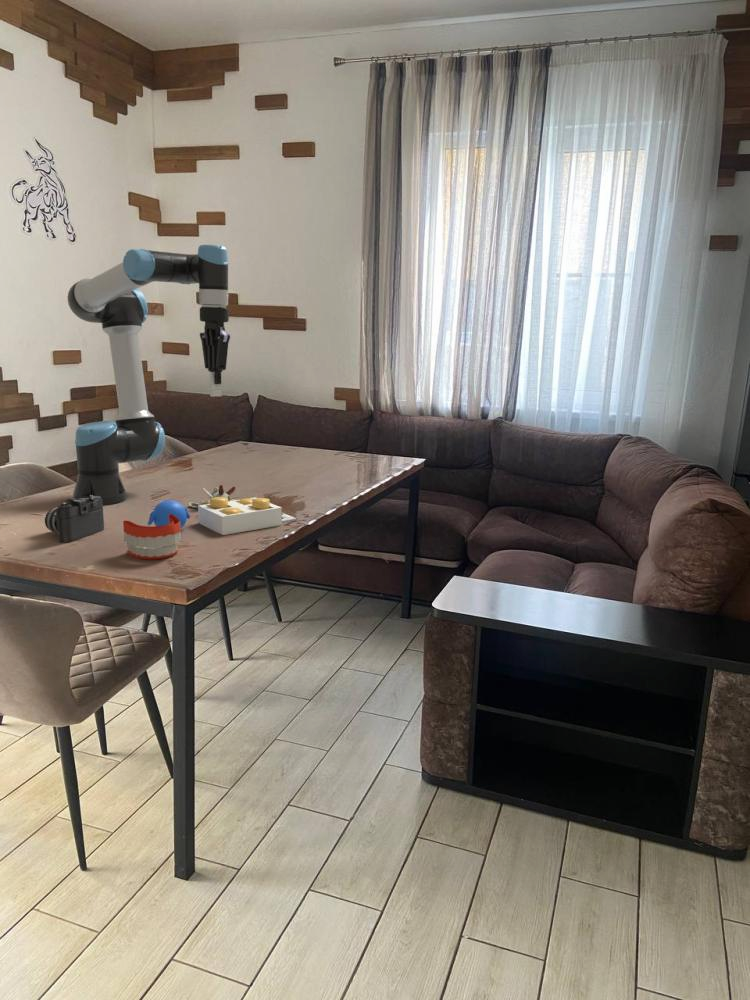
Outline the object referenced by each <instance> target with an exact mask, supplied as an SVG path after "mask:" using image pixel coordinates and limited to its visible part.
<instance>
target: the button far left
mask: <svg viewBox="0 0 750 1000" xmlns="http://www.w3.org/2000/svg"><path fill="white" fill-rule="evenodd" d="M209 500H210V508H213V509H221V508H228V498H226V497H213V498H210V497H209Z"/></svg>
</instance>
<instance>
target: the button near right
mask: <svg viewBox="0 0 750 1000" xmlns="http://www.w3.org/2000/svg"><path fill="white" fill-rule="evenodd" d="M254 498H255V497H254ZM270 503H271V502H270V499H269V498H266V497H256V498H255V499H252V508H253V509H255V510H264V509H270Z"/></svg>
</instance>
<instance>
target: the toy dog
mask: <svg viewBox="0 0 750 1000" xmlns="http://www.w3.org/2000/svg"><path fill="white" fill-rule="evenodd" d="M202 489H203V491H204V492H205V493H206V495H207V496H208V497H209V499H207V500H206V501H205V500H203V501H201V502H200V503H197V502H193V501H191V502H189V503H188V506H189V507H190V508H192V509H197V510H198V505H206V504H210V498H213V497H226V498H228V501H234V500H237V499H236V498H232V499H231V497H230V496H231V495H232V494H234V493H235V491H236V489H237V487H236V486H235V485H233V486H232V487H231V488H230V489H229V490H227V491H226V492H225V491H224V487H223V484H220V485H219V487H217V486H215V487H213V491H211V493H210V492H209V491H208V490H207V489H206V488H204V487H202Z"/></svg>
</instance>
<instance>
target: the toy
mask: <svg viewBox="0 0 750 1000" xmlns="http://www.w3.org/2000/svg"><path fill="white" fill-rule="evenodd" d="M168 517H169V524H168V525H163V526H155V525H154V526H150V525H148V526H146V525H140V524H136V523H134V522H132V521H130V520H123V522H122V523H123V524H122V525H123V533H124V535H123V536H124V537H123V541H124V542H125V543H126V546H127V547H126V548H127V550H126V553H127V554H128V555H130V556H131V557H133V556H134V557H133V558H136V559H140V560H161V559H167V558H170V557H171V558H172V557H173V556H175V555H176V554H177V553H178V552H179V548H178V543H179V542H181V539H182V538H181V537H182V535H181V531H182V528H181V525H180V520H179V519H178V518H177V517H175V516H174V515H172V514H170V515H168Z"/></svg>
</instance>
